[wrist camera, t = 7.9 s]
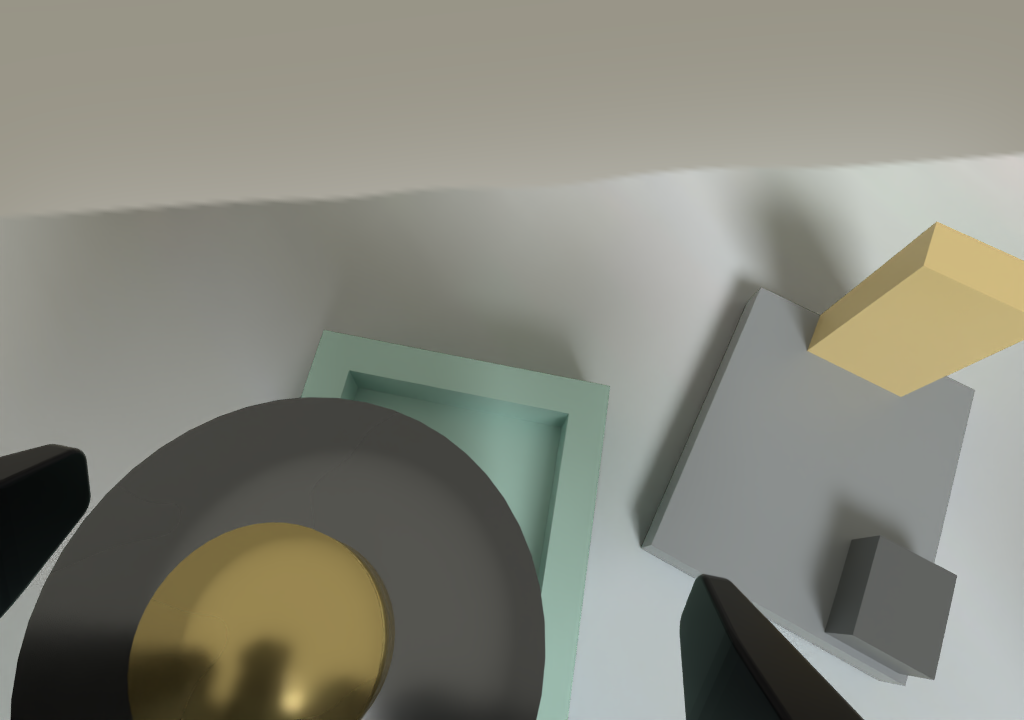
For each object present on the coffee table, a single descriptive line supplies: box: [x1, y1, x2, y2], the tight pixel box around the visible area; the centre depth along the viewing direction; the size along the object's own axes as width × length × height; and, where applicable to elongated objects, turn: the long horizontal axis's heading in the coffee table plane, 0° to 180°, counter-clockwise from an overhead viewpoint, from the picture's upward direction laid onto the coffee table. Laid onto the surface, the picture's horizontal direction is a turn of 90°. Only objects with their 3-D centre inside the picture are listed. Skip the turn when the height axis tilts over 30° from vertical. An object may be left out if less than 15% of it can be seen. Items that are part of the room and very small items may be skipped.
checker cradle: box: [641, 222, 1024, 686], centre depth 15 cm, size 9×7×6 cm
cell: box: [11, 397, 545, 720], centre depth 9 cm, size 4×4×12 cm
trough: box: [301, 330, 610, 720], centre depth 15 cm, size 13×8×2 cm, turn 170°
